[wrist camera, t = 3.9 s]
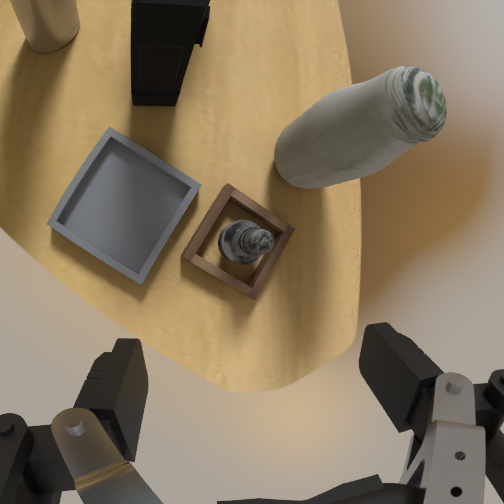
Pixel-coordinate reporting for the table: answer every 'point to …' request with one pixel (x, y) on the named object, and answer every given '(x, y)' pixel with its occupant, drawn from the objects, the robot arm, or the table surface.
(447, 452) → the robot arm
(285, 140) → the glass bottle
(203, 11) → the portable radio
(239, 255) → the dark grey chess piece
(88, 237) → the grey tray
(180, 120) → the table surface
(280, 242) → the walnut collar
